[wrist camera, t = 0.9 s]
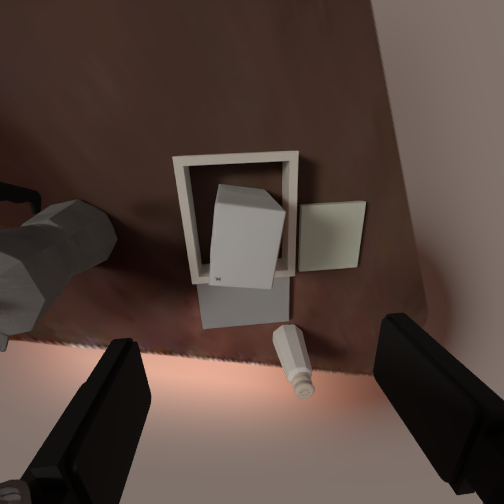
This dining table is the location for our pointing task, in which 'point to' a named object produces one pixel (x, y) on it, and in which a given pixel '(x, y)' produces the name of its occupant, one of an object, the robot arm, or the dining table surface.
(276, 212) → the small box
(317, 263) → the rubber mat
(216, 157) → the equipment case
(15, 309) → the coffeepot
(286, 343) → the pepper shaker
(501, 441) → the robot arm
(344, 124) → the dining table surface
